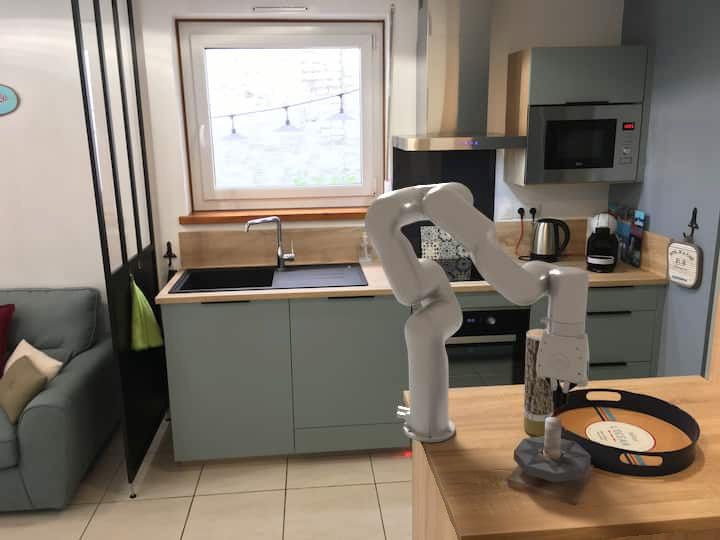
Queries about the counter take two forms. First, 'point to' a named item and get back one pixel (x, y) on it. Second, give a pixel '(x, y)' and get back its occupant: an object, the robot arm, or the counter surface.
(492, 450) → the counter surface
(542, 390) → the bark-covered log
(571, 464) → the grey octagonal disc
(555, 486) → the pipe stand
